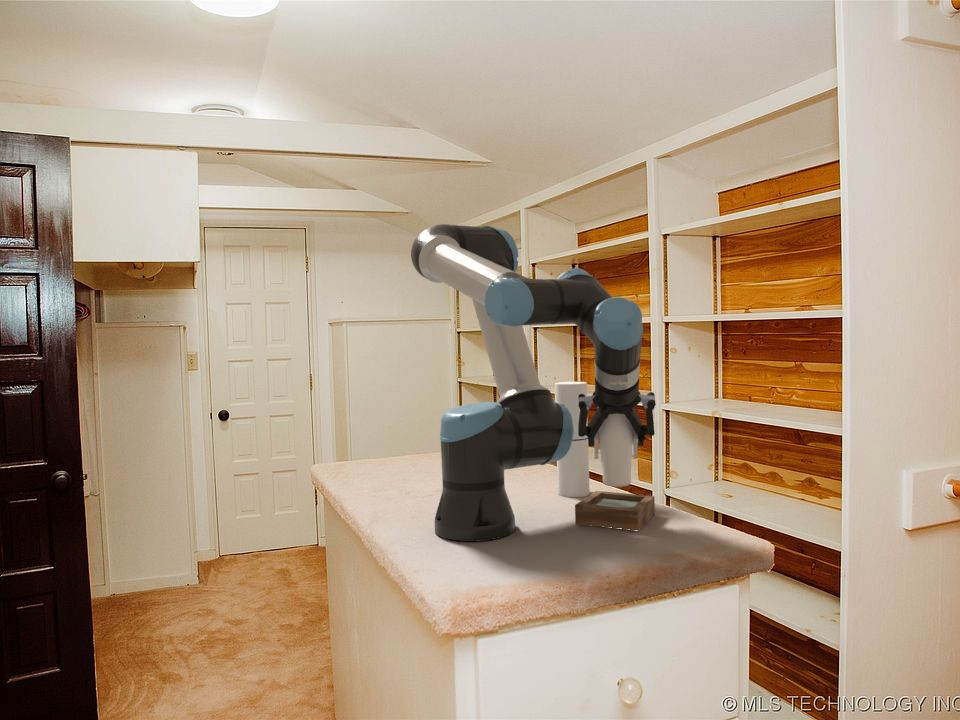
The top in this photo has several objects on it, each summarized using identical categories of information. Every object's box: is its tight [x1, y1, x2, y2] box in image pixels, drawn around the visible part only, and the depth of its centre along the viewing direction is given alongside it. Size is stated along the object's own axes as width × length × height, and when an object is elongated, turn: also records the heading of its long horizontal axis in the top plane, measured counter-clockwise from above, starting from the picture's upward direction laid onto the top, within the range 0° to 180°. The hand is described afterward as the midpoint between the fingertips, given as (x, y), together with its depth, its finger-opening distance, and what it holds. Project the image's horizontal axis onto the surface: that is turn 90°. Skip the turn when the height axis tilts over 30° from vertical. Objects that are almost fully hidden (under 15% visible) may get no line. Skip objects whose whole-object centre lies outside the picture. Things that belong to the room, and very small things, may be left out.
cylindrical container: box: [554, 381, 591, 498], centre depth 149 cm, size 7×7×25 cm
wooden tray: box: [574, 490, 656, 531], centre depth 128 cm, size 12×12×4 cm
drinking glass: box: [598, 413, 633, 488], centre depth 127 cm, size 7×7×15 cm
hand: (615, 453), depth 130 cm, fingers closed on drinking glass, 7 cm apart
